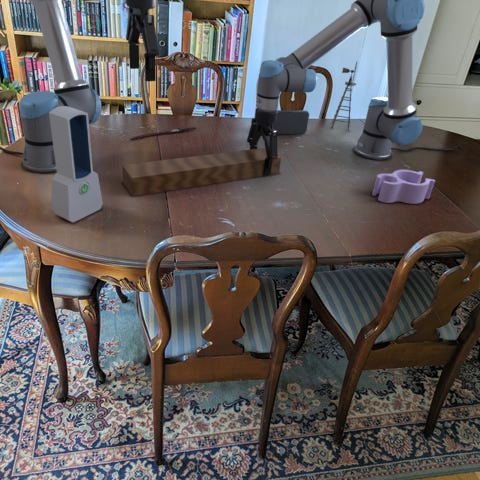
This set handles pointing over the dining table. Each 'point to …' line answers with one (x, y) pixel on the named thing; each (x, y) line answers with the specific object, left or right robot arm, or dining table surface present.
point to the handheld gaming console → (291, 121)
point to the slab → (195, 171)
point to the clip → (402, 187)
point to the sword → (164, 132)
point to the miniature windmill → (345, 97)
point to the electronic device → (73, 165)
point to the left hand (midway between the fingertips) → (142, 74)
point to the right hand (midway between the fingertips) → (259, 168)
